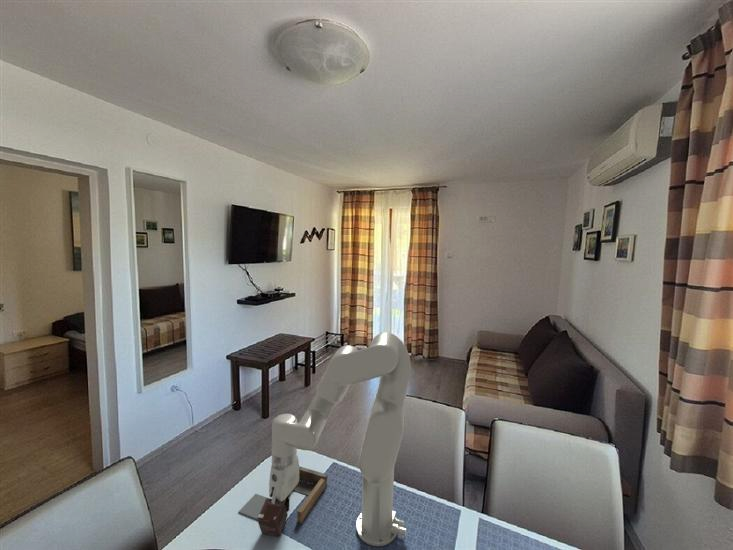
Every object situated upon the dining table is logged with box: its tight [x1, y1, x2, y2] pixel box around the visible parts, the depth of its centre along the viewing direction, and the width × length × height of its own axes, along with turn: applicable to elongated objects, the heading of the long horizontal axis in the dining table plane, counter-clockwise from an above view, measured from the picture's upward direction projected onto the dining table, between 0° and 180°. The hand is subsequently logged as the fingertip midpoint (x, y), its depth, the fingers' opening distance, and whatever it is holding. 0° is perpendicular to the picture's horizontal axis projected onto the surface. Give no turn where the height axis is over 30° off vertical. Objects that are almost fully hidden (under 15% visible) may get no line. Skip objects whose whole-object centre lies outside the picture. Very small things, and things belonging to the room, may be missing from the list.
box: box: [257, 497, 289, 537], centre depth 93 cm, size 6×6×7 cm
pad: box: [238, 493, 268, 521], centre depth 102 cm, size 8×8×1 cm
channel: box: [291, 465, 328, 524], centre depth 106 cm, size 12×17×4 cm
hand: (283, 510), depth 98 cm, fingers closed
